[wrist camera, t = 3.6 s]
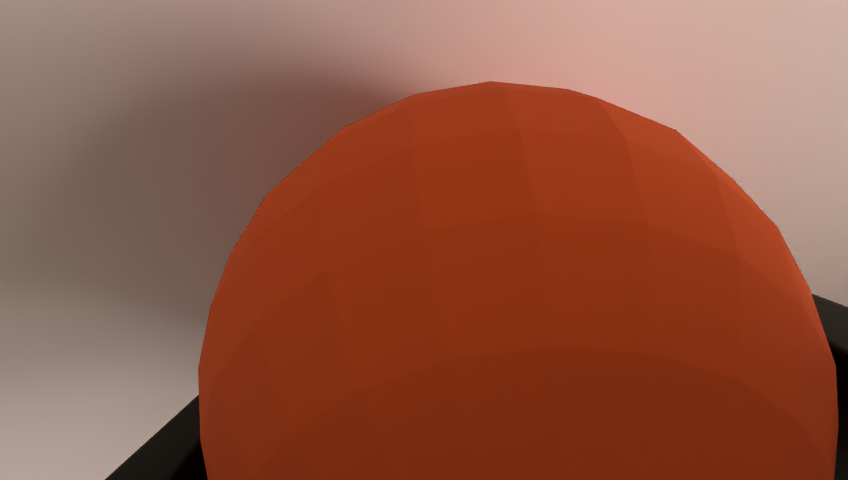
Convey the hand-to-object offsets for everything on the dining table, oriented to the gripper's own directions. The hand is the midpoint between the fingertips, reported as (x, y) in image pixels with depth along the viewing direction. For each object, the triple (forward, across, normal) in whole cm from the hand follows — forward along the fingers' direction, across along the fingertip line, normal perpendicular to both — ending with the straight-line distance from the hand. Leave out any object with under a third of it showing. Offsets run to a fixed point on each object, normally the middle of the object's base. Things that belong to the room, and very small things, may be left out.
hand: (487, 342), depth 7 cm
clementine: (+3, 0, 0) cm, 3 cm away
